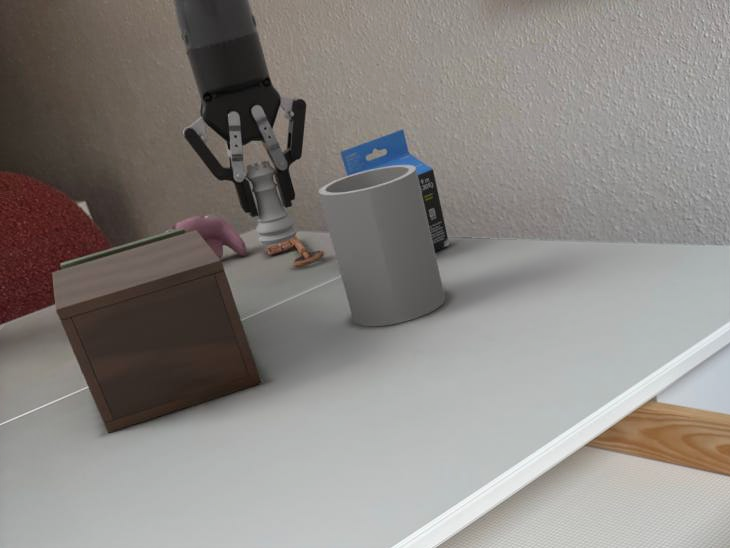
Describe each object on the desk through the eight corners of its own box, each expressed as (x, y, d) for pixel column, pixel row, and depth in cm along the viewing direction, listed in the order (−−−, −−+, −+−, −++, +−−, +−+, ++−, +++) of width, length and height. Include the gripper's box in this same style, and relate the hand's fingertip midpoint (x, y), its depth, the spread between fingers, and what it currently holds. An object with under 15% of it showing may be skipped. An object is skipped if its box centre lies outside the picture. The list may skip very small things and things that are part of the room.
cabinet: (98, 383, 107) (51, 272, 101) (234, 340, 109) (196, 229, 103) (107, 433, 94) (55, 309, 88) (261, 383, 96) (220, 259, 90)
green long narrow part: (93, 338, 117) (58, 254, 113) (206, 303, 120) (177, 219, 115) (103, 388, 102) (64, 293, 97) (234, 346, 104) (202, 252, 99)
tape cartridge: (390, 273, 118) (360, 151, 111) (368, 270, 121) (338, 152, 114) (451, 245, 122) (425, 127, 115) (429, 244, 125) (402, 128, 118)
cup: (444, 313, 102) (413, 178, 95) (349, 333, 103) (312, 201, 96) (445, 285, 109) (417, 158, 103) (357, 304, 110) (324, 180, 104)
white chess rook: (251, 246, 122) (229, 170, 118) (278, 233, 125) (257, 159, 121) (280, 245, 120) (258, 168, 115) (306, 232, 123) (286, 157, 118)
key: (267, 252, 140) (280, 276, 127) (264, 245, 139) (277, 268, 127) (309, 236, 140) (327, 258, 128) (306, 229, 140) (324, 251, 127)
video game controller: (242, 264, 143) (215, 213, 142) (252, 250, 139) (224, 198, 138) (176, 290, 138) (147, 238, 137) (184, 276, 134) (155, 223, 133)
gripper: (279, 19, 116) (324, 189, 125) (149, 52, 113) (204, 223, 123) (294, 20, 110) (339, 198, 119) (156, 54, 107) (213, 234, 116)
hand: (270, 210), depth 121 cm, fingers closed on white chess rook, 3 cm apart
